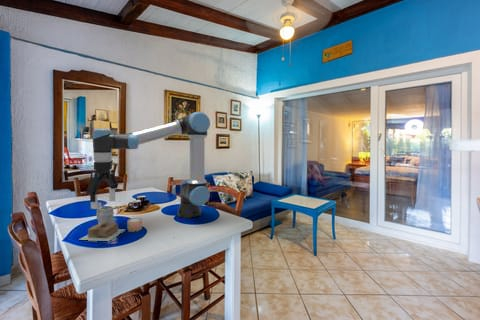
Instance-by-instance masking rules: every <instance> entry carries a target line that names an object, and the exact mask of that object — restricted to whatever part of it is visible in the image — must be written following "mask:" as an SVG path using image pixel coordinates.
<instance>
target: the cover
mask: <svg viewBox="0 0 480 320" xmlns="http://www.w3.org/2000/svg"><path fill="white" fill-rule="evenodd" d="M118 229H119V223H118V222H114V223H99V224H98V223H97V224H96V225H93V226H91V227H90V228H88V229H87V235H88V237H90V238H108V237H109V236H111V235H113V234H114V233H116V232H117V231H118Z"/></svg>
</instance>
